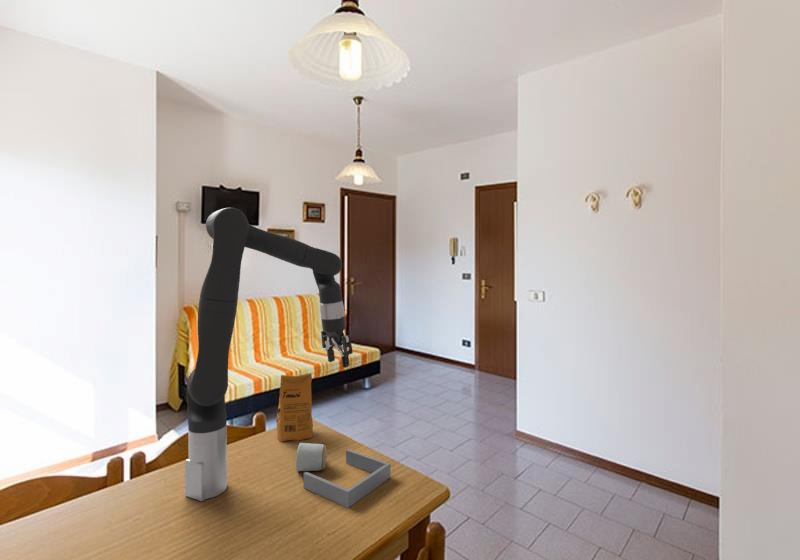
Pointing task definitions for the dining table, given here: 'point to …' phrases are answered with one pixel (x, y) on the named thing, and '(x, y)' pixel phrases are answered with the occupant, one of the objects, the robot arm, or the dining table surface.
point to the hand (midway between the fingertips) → (338, 364)
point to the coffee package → (295, 408)
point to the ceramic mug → (310, 457)
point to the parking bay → (357, 491)
